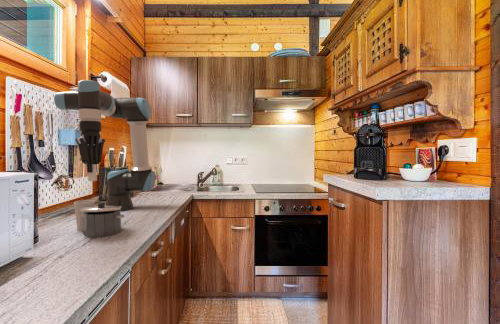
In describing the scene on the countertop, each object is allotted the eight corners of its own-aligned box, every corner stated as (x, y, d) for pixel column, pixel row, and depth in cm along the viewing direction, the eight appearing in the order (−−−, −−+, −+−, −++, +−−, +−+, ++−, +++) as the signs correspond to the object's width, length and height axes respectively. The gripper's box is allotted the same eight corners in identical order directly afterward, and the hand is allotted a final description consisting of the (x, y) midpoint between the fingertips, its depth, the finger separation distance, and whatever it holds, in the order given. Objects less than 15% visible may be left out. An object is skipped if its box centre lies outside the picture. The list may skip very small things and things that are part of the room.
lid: (100, 207, 124) (100, 200, 124) (129, 207, 121) (129, 201, 121) (71, 211, 109) (71, 204, 109) (104, 212, 106) (104, 205, 106)
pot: (98, 226, 126) (97, 205, 125) (135, 228, 122) (134, 206, 121) (70, 236, 111) (70, 212, 111) (112, 238, 107) (111, 213, 107)
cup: (86, 231, 118) (85, 203, 118) (70, 230, 120) (69, 203, 119) (99, 226, 126) (99, 200, 125) (84, 225, 127) (83, 199, 127)
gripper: (94, 122, 116) (96, 178, 117) (68, 119, 103) (71, 182, 105) (110, 122, 115) (112, 179, 116) (85, 118, 102) (88, 182, 103)
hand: (92, 180), depth 110 cm, fingers closed
